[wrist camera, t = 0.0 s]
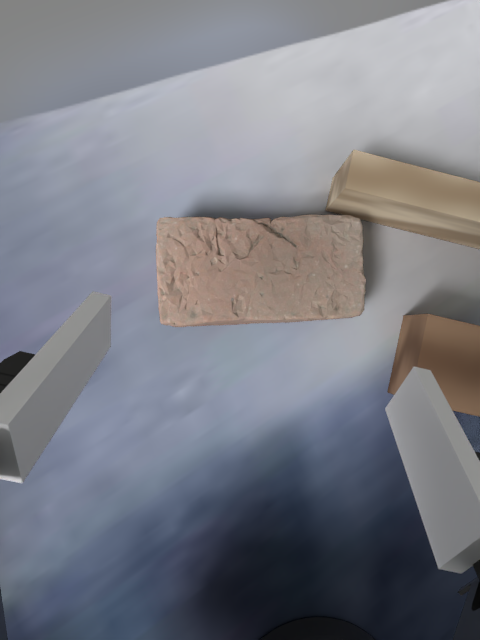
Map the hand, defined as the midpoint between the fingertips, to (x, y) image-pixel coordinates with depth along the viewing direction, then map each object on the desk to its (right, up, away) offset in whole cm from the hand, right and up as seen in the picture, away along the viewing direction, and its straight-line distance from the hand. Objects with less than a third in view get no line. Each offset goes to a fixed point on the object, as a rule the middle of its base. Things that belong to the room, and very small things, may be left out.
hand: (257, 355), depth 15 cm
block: (+17, -2, +16) cm, 23 cm away
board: (+17, +10, +16) cm, 26 cm away
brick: (+1, +5, +16) cm, 17 cm away
